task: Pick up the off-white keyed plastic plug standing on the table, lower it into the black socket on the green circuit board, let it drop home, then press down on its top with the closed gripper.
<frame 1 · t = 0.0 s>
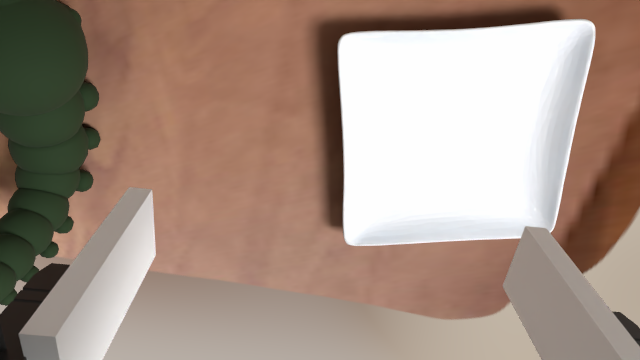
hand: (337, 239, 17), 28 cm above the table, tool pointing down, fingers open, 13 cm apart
salad plate: (447, 132, 45), on the table
toy figurine: (65, 91, 43), on the table
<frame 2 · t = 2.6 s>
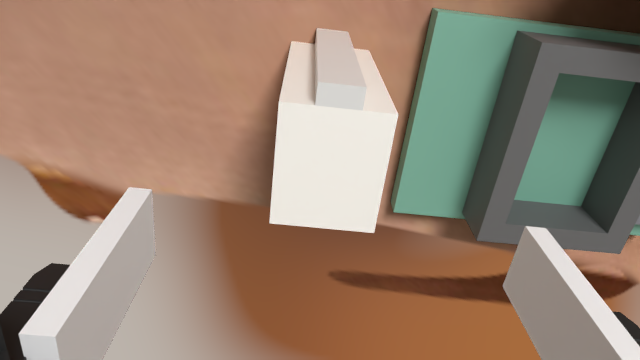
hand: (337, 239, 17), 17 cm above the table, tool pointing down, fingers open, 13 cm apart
board: (549, 129, 33), on the table
plug: (324, 91, 31), on the table
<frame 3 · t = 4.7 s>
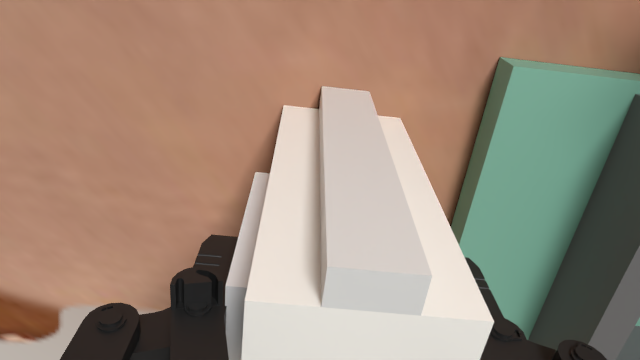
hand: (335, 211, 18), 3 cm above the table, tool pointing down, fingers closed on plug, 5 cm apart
plug: (333, 174, 21), on the table, touching gripper
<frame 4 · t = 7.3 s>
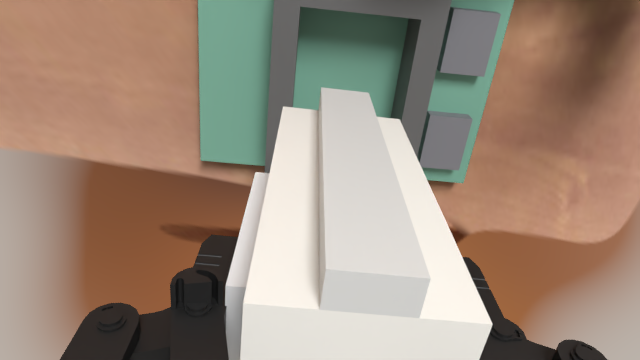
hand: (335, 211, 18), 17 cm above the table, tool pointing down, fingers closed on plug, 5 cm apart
board: (344, 75, 34), on the table
plug: (332, 175, 21), point 14 cm above the table, touching gripper
when the fingers open (7 cm above the table, at t = 10.2 s): plug drops 2 cm, resting on board.
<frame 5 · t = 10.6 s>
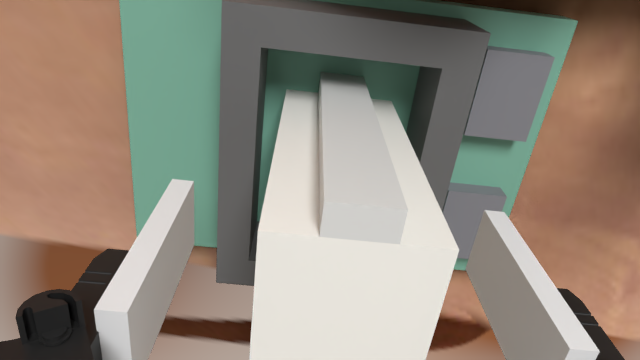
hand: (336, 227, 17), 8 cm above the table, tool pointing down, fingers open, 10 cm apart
board: (332, 131, 25), on the table
plug: (331, 152, 24), point 1 cm above the table, touching board
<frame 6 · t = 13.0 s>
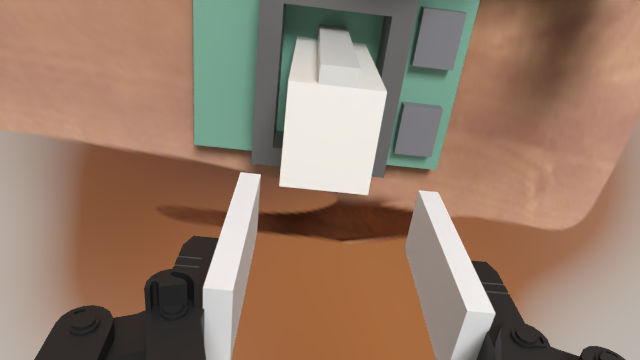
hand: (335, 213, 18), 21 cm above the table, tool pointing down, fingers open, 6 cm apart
board: (327, 68, 37), on the table
plug: (326, 80, 36), point 1 cm above the table, touching board
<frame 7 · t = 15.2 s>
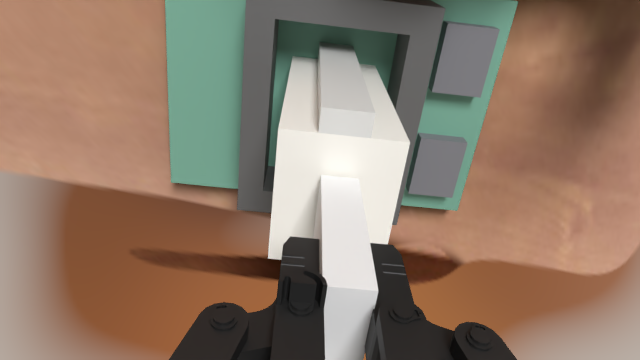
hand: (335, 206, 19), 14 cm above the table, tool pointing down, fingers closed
board: (328, 92, 31), on the table
plug: (327, 108, 30), point 1 cm above the table, touching board, gripper
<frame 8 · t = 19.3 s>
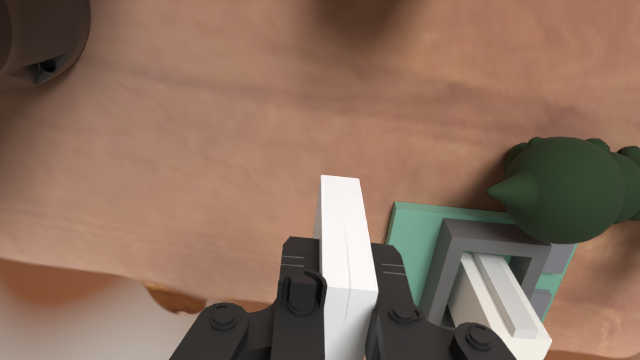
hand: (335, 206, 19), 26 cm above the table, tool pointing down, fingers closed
board: (470, 263, 53), on the table
plug: (472, 275, 52), point 1 cm above the table, touching board
toy figurine: (578, 166, 48), on the table
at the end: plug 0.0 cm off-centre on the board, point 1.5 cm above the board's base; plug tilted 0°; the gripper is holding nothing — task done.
